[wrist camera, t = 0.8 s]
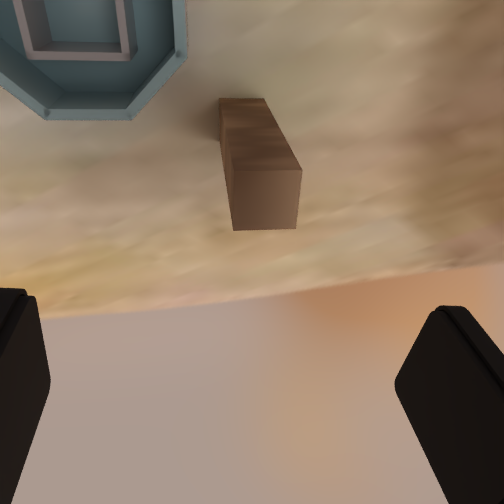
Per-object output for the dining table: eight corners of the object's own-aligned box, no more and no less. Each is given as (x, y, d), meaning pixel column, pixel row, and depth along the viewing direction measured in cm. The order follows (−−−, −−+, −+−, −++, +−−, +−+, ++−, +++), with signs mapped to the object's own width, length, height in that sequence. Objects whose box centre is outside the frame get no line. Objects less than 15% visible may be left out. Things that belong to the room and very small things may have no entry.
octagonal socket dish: (180, -128, 21) (177, -149, 17) (190, 99, 27) (190, 120, 23) (-58, -145, 19) (-117, -172, 16) (11, 98, 26) (-19, 120, 22)
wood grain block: (263, 98, 28) (302, 169, 18) (261, 141, 29) (295, 228, 20) (219, 98, 27) (233, 171, 18) (219, 142, 29) (233, 230, 19)
